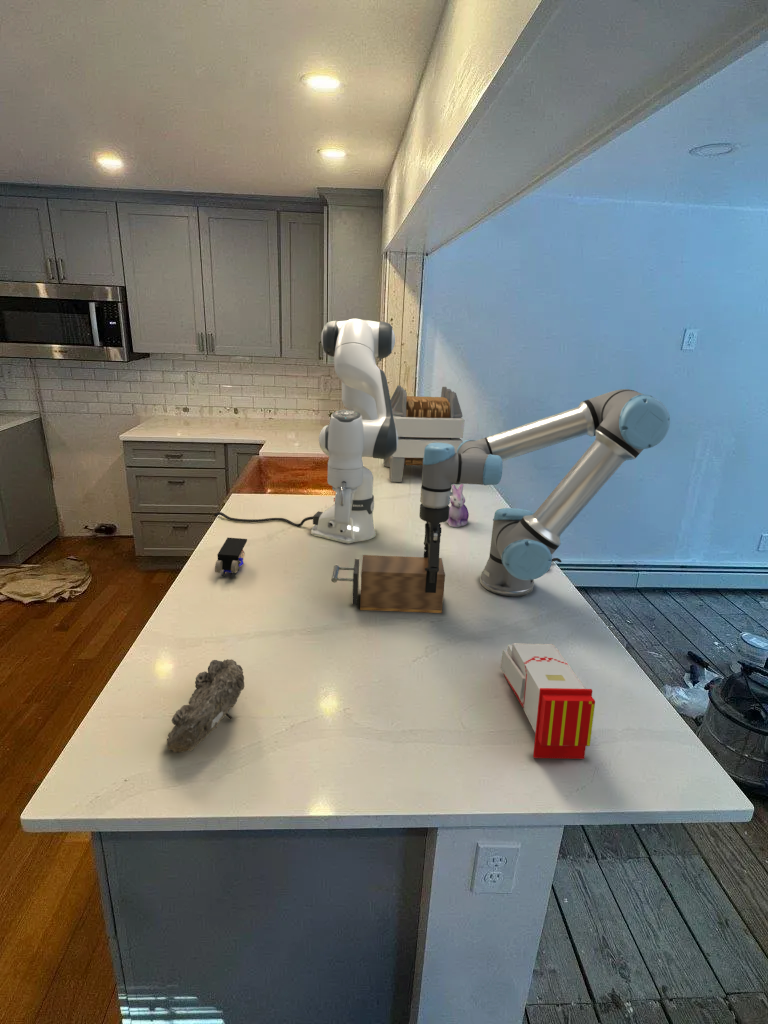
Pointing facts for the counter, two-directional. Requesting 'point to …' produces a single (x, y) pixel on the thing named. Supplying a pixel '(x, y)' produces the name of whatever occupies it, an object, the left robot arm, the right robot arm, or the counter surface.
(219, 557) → the black wheeled block
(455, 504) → the figurine
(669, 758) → the counter surface
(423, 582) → the cabinet
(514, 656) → the toy
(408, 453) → the transformer
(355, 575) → the drawer
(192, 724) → the fossil
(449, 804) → the counter surface
